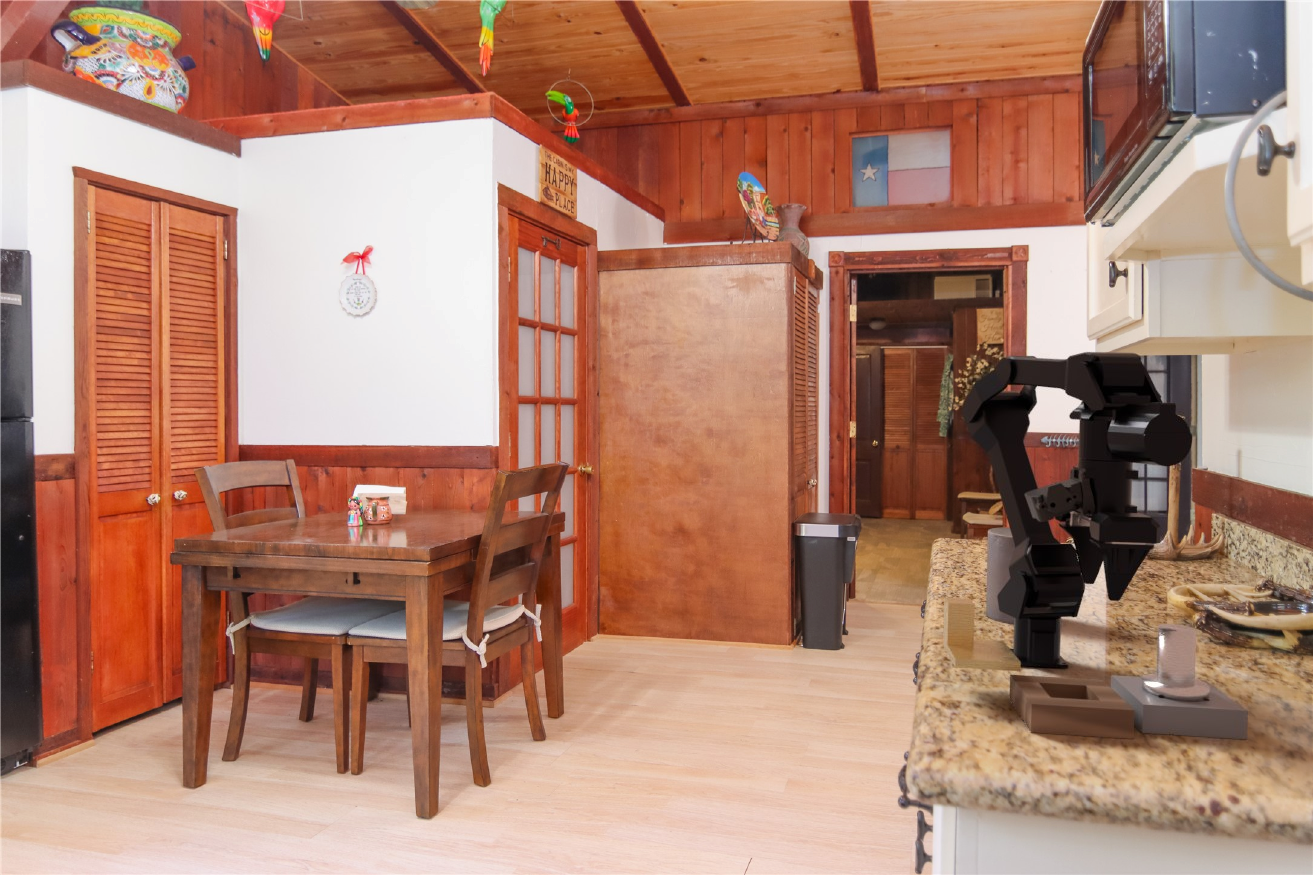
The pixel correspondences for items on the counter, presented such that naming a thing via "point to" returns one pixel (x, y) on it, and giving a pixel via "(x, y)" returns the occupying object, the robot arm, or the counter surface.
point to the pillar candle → (998, 570)
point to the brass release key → (972, 640)
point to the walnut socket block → (1071, 706)
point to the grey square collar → (1182, 712)
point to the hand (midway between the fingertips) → (1100, 591)
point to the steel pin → (1176, 666)
